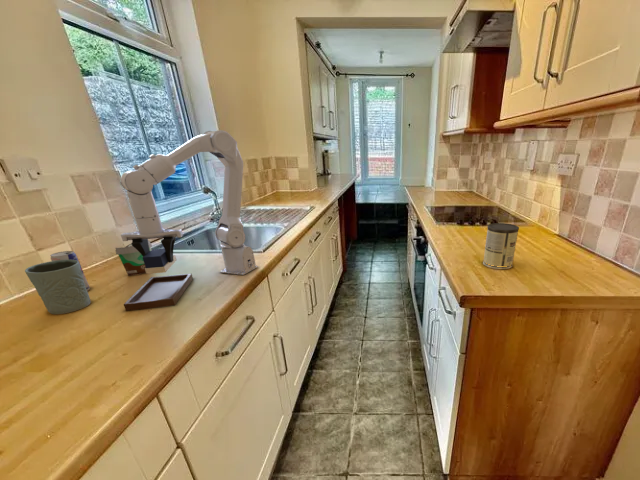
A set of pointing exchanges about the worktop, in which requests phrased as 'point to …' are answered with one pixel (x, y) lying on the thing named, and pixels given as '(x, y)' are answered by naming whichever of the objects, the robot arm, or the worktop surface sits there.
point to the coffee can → (500, 245)
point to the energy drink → (68, 256)
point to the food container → (132, 259)
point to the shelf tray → (159, 292)
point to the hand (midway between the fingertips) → (161, 262)
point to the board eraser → (157, 261)
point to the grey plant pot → (60, 285)
